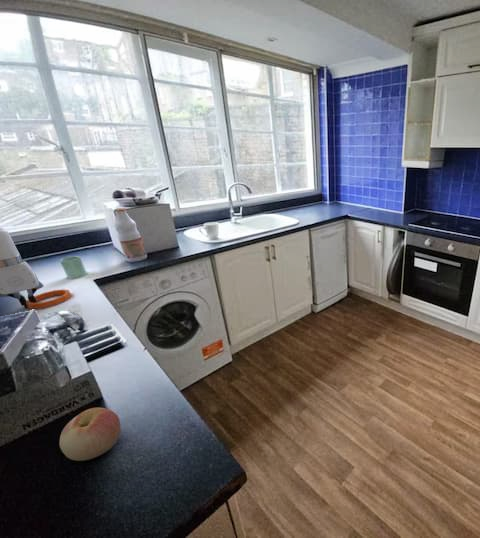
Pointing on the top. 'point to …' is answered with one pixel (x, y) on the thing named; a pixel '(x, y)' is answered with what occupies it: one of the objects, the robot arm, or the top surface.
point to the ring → (56, 301)
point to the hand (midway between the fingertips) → (30, 305)
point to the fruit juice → (129, 236)
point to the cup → (73, 267)
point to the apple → (90, 434)
